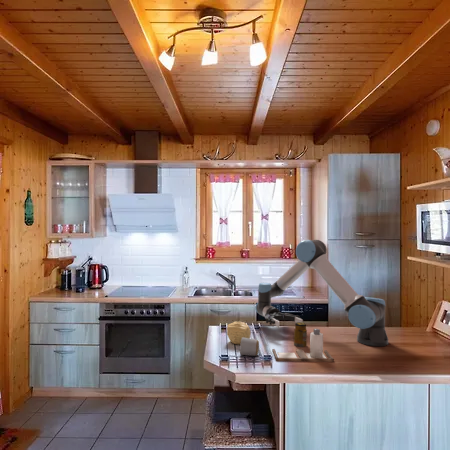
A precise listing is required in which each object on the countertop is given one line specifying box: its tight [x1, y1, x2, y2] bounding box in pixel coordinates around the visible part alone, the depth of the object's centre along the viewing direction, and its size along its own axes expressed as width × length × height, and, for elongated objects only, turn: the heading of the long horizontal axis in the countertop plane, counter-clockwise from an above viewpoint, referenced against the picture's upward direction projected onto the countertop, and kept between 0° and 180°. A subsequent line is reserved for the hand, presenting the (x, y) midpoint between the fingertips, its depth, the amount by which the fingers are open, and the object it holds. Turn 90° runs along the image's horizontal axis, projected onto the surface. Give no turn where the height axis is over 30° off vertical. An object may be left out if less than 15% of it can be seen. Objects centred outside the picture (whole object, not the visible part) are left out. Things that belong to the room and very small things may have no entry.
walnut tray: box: [272, 348, 335, 363], centre depth 160 cm, size 25×12×2 cm, turn 90°
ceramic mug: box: [239, 337, 260, 357], centre depth 166 cm, size 11×8×8 cm
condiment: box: [293, 322, 308, 348], centre depth 175 cm, size 7×8×12 cm
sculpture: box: [226, 321, 252, 346], centre depth 182 cm, size 12×12×11 cm
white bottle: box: [309, 328, 324, 358], centre depth 160 cm, size 6×6×12 cm
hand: (290, 323), depth 184 cm, fingers open, 13 cm apart
